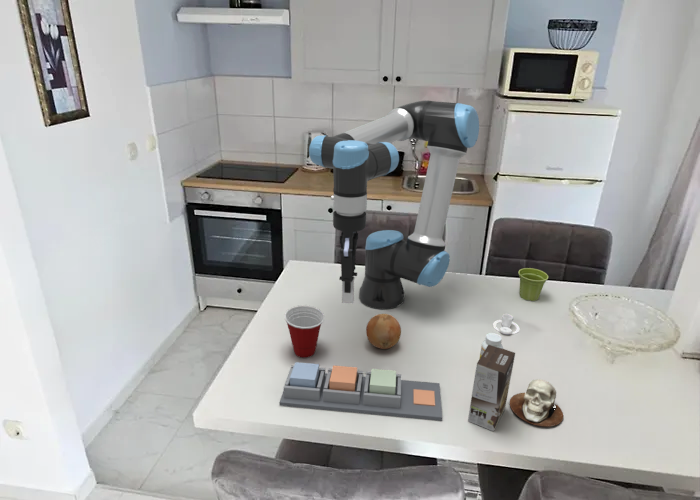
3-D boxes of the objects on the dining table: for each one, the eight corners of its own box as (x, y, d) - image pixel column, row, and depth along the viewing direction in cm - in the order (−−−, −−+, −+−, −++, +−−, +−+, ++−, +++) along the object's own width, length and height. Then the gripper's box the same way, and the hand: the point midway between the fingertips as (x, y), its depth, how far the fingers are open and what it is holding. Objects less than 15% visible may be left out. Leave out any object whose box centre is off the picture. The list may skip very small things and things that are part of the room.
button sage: (395, 380, 119) (396, 370, 118) (394, 397, 114) (395, 387, 112) (371, 378, 120) (371, 368, 118) (369, 394, 114) (369, 384, 113)
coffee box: (494, 432, 108) (505, 374, 101) (466, 421, 111) (475, 363, 105) (506, 408, 115) (516, 352, 109) (479, 398, 118) (488, 343, 112)
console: (439, 386, 122) (440, 373, 120) (441, 420, 111) (443, 407, 109) (290, 373, 126) (290, 360, 124) (279, 405, 115) (278, 392, 113)
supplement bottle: (481, 373, 127) (485, 342, 123) (476, 360, 132) (480, 330, 128) (501, 373, 127) (507, 343, 123) (496, 361, 132) (501, 331, 128)
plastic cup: (314, 368, 128) (314, 329, 123) (278, 358, 131) (276, 320, 127) (331, 345, 137) (331, 309, 132) (297, 337, 141) (295, 301, 136)
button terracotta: (357, 377, 120) (357, 367, 119) (354, 393, 115) (354, 383, 113) (333, 375, 121) (333, 365, 119) (329, 391, 115) (329, 381, 114)
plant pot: (527, 287, 171) (531, 265, 167) (549, 299, 163) (554, 276, 160) (508, 294, 166) (512, 271, 162) (531, 306, 159) (535, 283, 155)
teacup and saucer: (508, 339, 142) (510, 327, 140) (485, 328, 147) (487, 316, 146) (524, 329, 147) (527, 317, 146) (502, 318, 153) (503, 307, 151)
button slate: (319, 374, 121) (319, 364, 120) (314, 390, 116) (314, 379, 114) (295, 372, 122) (295, 362, 120) (290, 387, 116) (289, 377, 115)
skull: (559, 436, 106) (533, 395, 107) (520, 442, 113) (496, 404, 114) (575, 405, 115) (551, 367, 115) (538, 412, 122) (516, 377, 123)
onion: (393, 333, 143) (395, 304, 139) (404, 353, 134) (407, 322, 130) (361, 337, 141) (362, 308, 137) (371, 358, 132) (372, 327, 128)
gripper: (337, 201, 116) (336, 288, 126) (328, 219, 104) (328, 314, 114) (368, 202, 116) (365, 290, 125) (363, 221, 104) (360, 316, 113)
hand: (347, 301), depth 119 cm, fingers closed
